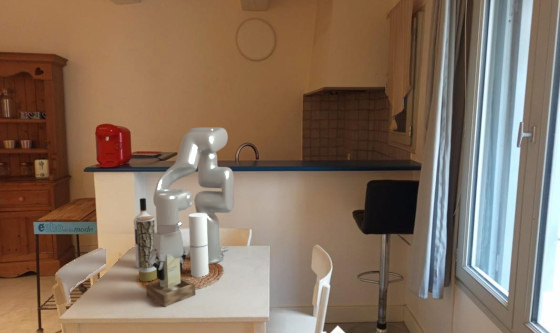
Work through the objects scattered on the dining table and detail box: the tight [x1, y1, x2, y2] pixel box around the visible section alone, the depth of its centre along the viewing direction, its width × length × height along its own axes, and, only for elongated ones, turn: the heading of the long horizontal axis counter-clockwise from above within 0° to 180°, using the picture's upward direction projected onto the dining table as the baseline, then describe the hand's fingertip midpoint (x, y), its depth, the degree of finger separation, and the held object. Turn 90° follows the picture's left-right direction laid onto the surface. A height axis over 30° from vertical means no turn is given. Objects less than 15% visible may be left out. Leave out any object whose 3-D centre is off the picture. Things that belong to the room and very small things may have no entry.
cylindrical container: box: [188, 212, 209, 278], centre depth 162 cm, size 7×7×25 cm
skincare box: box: [159, 254, 181, 288], centre depth 143 cm, size 6×4×12 cm
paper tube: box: [136, 215, 158, 283], centre depth 158 cm, size 7×7×25 cm
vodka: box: [133, 197, 152, 269], centre depth 173 cm, size 9×9×30 cm
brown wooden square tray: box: [145, 277, 196, 308], centre depth 144 cm, size 12×12×4 cm
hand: (170, 275), depth 143 cm, fingers closed on skincare box, 6 cm apart
